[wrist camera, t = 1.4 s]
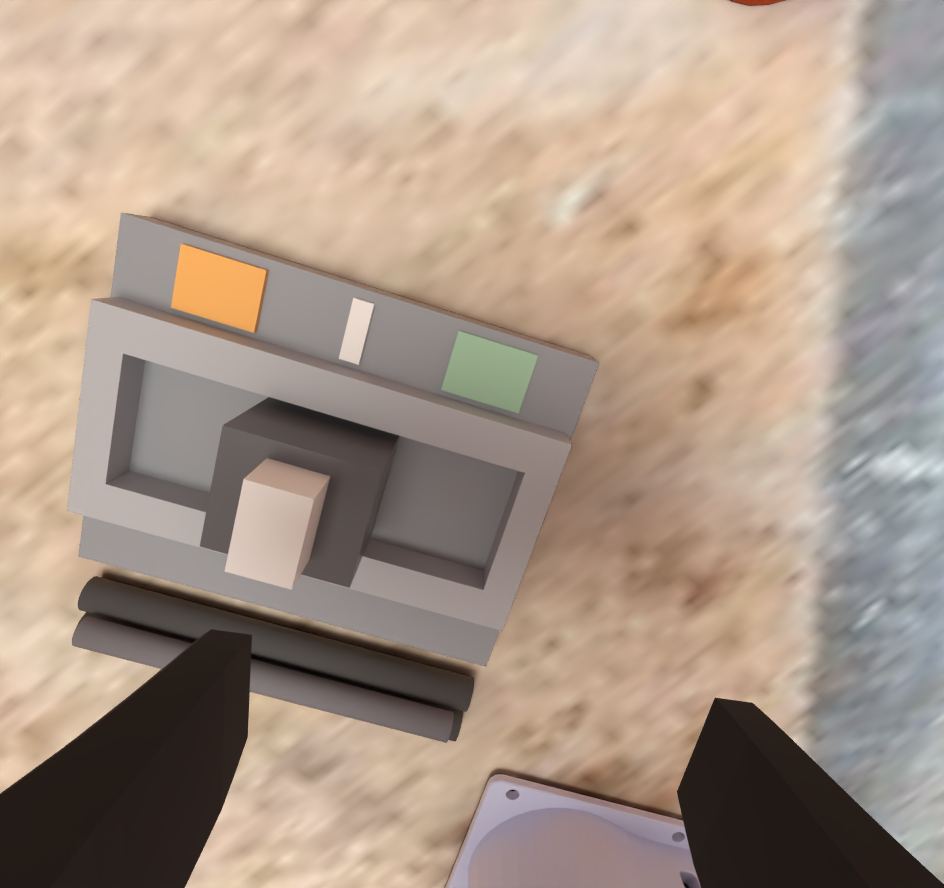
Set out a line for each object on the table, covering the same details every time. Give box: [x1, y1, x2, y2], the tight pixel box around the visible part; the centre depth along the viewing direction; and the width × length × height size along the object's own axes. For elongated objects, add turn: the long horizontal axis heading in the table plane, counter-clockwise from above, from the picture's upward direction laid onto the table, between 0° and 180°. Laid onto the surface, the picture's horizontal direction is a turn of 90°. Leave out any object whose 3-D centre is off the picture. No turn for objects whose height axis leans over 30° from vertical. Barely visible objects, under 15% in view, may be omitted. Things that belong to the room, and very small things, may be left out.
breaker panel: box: [67, 213, 599, 667], centre depth 18 cm, size 14×11×3 cm
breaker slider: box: [200, 397, 400, 590], centre depth 16 cm, size 4×3×5 cm
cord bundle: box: [72, 576, 474, 742], centre depth 21 cm, size 14×3×2 cm, turn 73°
